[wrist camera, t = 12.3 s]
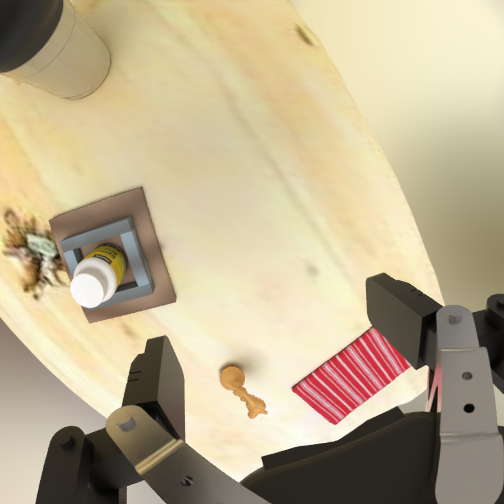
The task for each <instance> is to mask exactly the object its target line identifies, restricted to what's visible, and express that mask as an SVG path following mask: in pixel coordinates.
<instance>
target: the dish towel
mask: <svg viewBox="0 0 504 504" xmlns="http://www.w3.org/2000/svg"><path fill="white" fill-rule="evenodd" d="M411 366H412V365H411V364H410V363H409V362H408V361H407V360H406V359H405V358H404V357H403V356H402V355H401V354H400V353H399V352H398V351H397V350H396V349H395V348H394V347H393V346H392V345H391V344H390V343H389V342H388V341H387V340H386V339H385V338H384V337H383V336H382V335H381V334H380V333H379V332H378V331H377V330H376V329H375V328H374V326H373V327H371V328H370V329H369V330H368V331H367V332H365V333H364V334H363V335H362V336H360V337H359V338H358V339H357V340H355V341H354V342H352V343H351V344H350V345H348V346H347V347H346V348H345V349H343V350H342V351H341V352H339V353H338V354H336V355H335V356H334V357H332V358H331V359H329V360H328V361H327V362H325V363H324V364H322V366H320V367H319V368H318V369H316V370H315V371H313V372H312V373H311V374H310V375H308V376H307V377H306V378H304V379H303V380H301V381H300V382H299V383H298V384H296V386H294V387H293V388H292V391H293V392H294V393H296V394H297V395H299V396H300V397H301V398H302V399H303V400H304V401H305V402H307V403H308V404H309V405H310V406H311V407H312V408H313V409H315V410H316V411H317V412H318V413H319V414H320V415H322V416H323V417H324V418H325V419H326V420H328V421H329V422H330V423H332V424H334V425H336V424H338V423H339V422H340V421H341V420H342V419H344V418H345V417H346V416H347V415H348V414H349V413H350V412H352V411H354V409H356V408H357V407H359V406H360V405H361V404H363V403H364V402H365V401H367V400H368V399H369V398H370V397H372V396H373V395H374V394H376V393H377V392H379V391H380V390H382V389H383V388H384V387H385V386H387V385H388V384H389V383H391V382H392V381H393V380H394V379H395V378H396V377H397V376H399V375H400V374H402V373H403V372H404V371H406V370H407V369H408V368H409V367H411Z"/></svg>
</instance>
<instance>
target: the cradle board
mask: <svg viewBox="0 0 504 504" xmlns="http://www.w3.org/2000/svg"><path fill="white" fill-rule="evenodd" d="M49 223H50V226H51V230H52V233H53V236H54V239H55V241H56V244H57V247H58V250H59V253H60V256H61V258H62V261H63V264H64V266H65V269H66V271H67V274H68V276H69V279H70V281H71V282H72V280H73V278H74V271H75V269H76V267H77V265H78V264H79V263H80V262H81V261H82V260H83V259H84V258H85V257H86V256H87V255H88V254H89V253H90V252H92V251H93V250H94V249H95V248H96V247H97V246H99V245H101V244H104V243H111V244H114V245H116V246H118V247H119V248H121V249H122V250H123V252H124V253H125V255H126V258H127V262H128V267H127V271H126V273H125V275H124V277H123V279H122V280H121V282H120V284H119V285H118V287H117V289H116V291H115V292H114V294H113V295H112V297H111V298H110V299H108V300H107V301H105V302H102V303H100V304H99V305H98V306H96V307H93V308H87V307H83V306H81V307H82V309H83V311H84V313H85V316H86V318H87V320H88V322H89V323H93V322H98V321H102V320H106V319H110V318H114V317H119V316H123V315H127V314H131V313H135V312H139V311H143V310H147V309H151V308H155V307H159V306H163V305H167V304H171V303H174V302H176V295H175V292H174V289H173V286H172V283H171V280H170V277H169V274H168V271H167V268H166V265H165V262H164V259H163V256H162V253H161V250H160V247H159V244H158V240H157V237H156V234H155V231H154V227H153V224H152V221H151V217H150V214H149V210H148V207H147V203H146V200H145V196H144V193H143V189H142V187H141V188H138V189H134V190H131V191H128V192H125V193H122V194H119V195H116V196H113V197H110V198H107V199H104V200H101V201H98V202H95V203H92V204H90V205H87V206H84V207H81V208H79V209H76V210H73V211H70V212H68V213H65V214H63V215H60V216H57V217H55V218H52V219H50V220H49Z"/></svg>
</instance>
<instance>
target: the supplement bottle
mask: <svg viewBox="0 0 504 504" xmlns="http://www.w3.org/2000/svg"><path fill="white" fill-rule="evenodd" d="M127 267H128V262H127V258H126V255H125V253H124V252H123V250H122V249H121V248H119V247H118V246H116V245H114V244H111V243H104V244H101V245H99V246H97V247H96V248H95V249H94V250H93V251H92V252H90V253H89V254H88V255H87V256H86V257H85V258H84V259H83V260H82V261H81V262H80V263H79V264H78V265H77V267H76V269H75V271H74V278H73V280H72V282H71V286H70V289H71V294H72V296H73V298H74V299H75V301H76V302H77V303H78V304H80V305H81V306H83V307H87V308H93V307H96V306H98V305H99V304H100V303H102V302H105V301H107V300H108V299H110V298H111V297H112V295H113V294H114V292H115V291H116V289H117V287H118V285H119V284H120V282H121V280H122V279H123V277H124V275H125V273H126V271H127Z"/></svg>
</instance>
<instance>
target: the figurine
mask: <svg viewBox="0 0 504 504" xmlns="http://www.w3.org/2000/svg"><path fill="white" fill-rule="evenodd" d="M244 381H245V376H244V373H243V372H242V370H240V369H239V368H237V367H227V368H225V369H224V370H223V371H222V372H221V374H220V382H221V384H222V386H223V387H224V388H225V389H227V390H231V391H233V394H234V395H236V396H239V397H241V398H240V400H241V401H245V402H246V407H247V409H248V410H249V412H248V416H249V418H251V419H253V418H255V417H256V416H257V415H258V414H259V413H262V414H267V413H268V412H267V411H265V410H264V409H265V408H266V405H265V403H264V401H263V400H261V399H260V398H258V397H255V396H254V395H251V394H248V393H247V391H246V389H245V388H244V387H242V386H243V384H244Z"/></svg>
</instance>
